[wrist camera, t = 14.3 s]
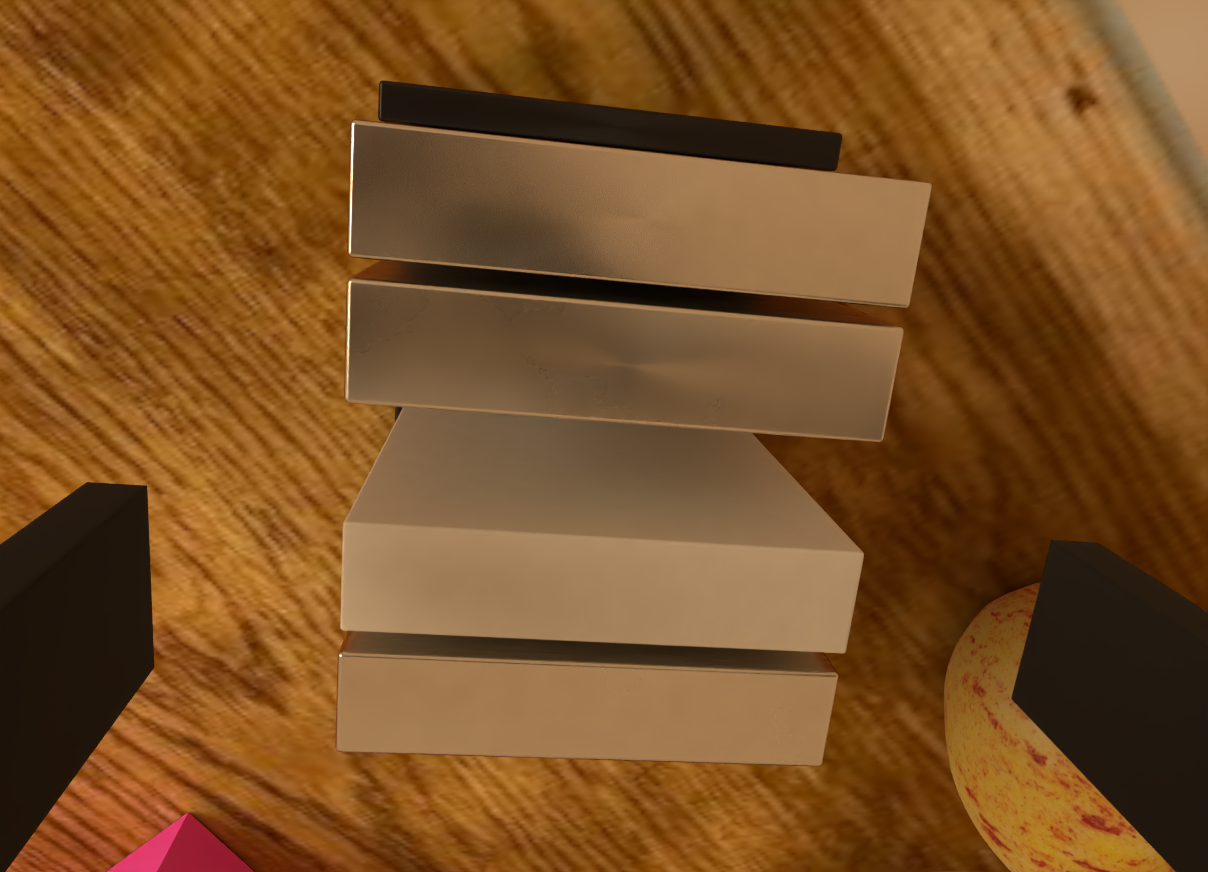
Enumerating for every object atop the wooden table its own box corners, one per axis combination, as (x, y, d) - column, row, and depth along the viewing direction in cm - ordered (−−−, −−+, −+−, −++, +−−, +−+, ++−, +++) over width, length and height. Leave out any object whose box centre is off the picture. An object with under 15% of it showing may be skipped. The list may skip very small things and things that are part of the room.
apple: (1023, 808, 32) (1236, 1072, 23) (834, 691, 30) (981, 928, 21) (1196, 615, 31) (1503, 812, 21) (1009, 478, 29) (1257, 627, 19)
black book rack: (411, 103, 24) (316, 33, 13) (772, 144, 25) (979, 112, 14) (393, 548, 27) (304, 806, 16) (711, 566, 29) (838, 818, 17)
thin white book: (415, 380, 25) (342, 521, 15) (726, 404, 26) (866, 553, 16) (412, 448, 26) (339, 631, 15) (717, 469, 27) (847, 655, 16)
